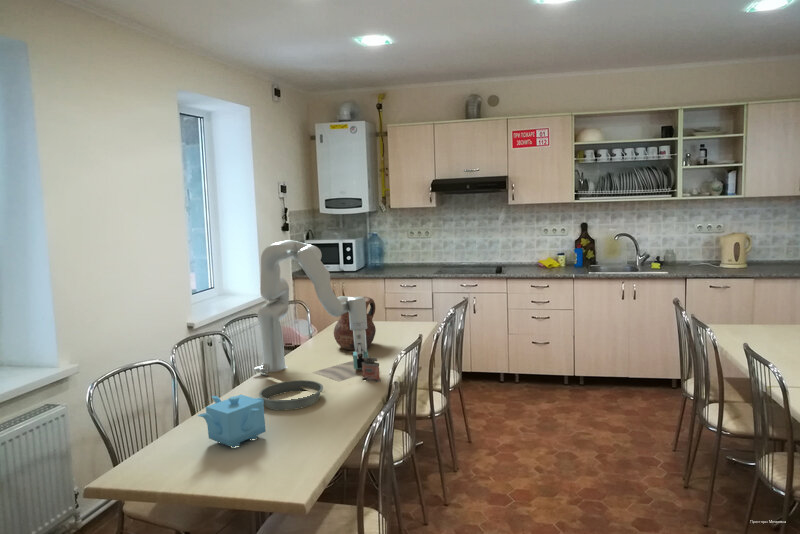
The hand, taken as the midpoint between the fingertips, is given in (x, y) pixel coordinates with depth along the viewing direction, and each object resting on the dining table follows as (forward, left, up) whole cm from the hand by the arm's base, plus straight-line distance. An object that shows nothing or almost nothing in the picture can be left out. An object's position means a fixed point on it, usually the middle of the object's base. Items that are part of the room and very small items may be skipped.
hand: (361, 365), depth 268 cm
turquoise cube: (0, 0, -1) cm, 1 cm away
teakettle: (-73, -26, -4) cm, 78 cm away
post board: (-5, +5, -4) cm, 8 cm away
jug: (+26, +38, -4) cm, 46 cm away
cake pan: (-39, -6, -4) cm, 40 cm away
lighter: (-4, -11, -4) cm, 12 cm away
